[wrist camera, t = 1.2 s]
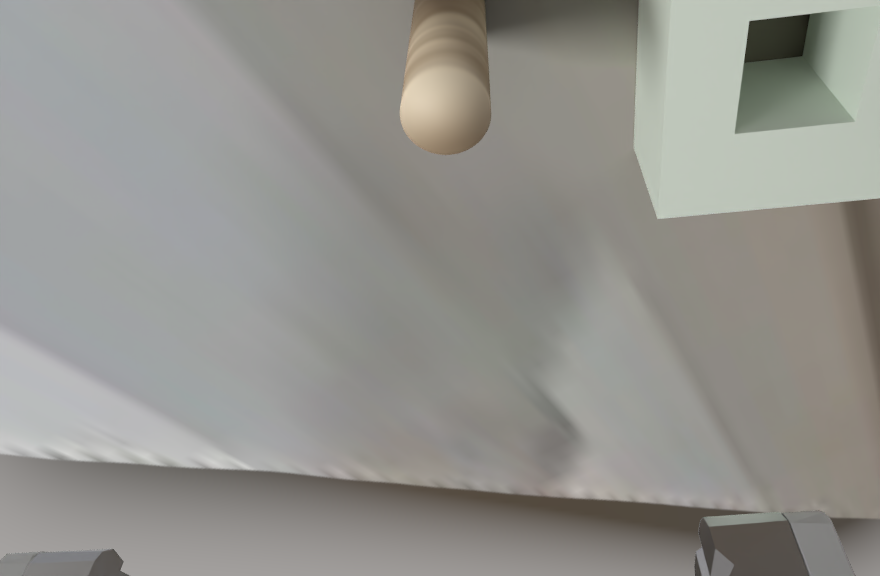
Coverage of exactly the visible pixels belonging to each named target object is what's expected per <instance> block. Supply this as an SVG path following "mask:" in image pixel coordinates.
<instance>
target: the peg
mask: <svg viewBox="0 0 880 576" xmlns="http://www.w3.org/2000/svg"><path fill="white" fill-rule="evenodd" d="M400 119H401V123H402V126H403V129H404V131H405V133H406V134H407V136H408V137H409V138H410V139H411V140H412V141H413V142H414V143H415V144H416V145H417V146H419V147H420V148H422V149H424V150H426V151H428V152H431V153H435V154H442V155H451V154H457V153H461V152H463V151H466V150H468V149H470V148H472V147H473V146H474V145H476V144H477V143H478V142H479V141H480V140H481V139H482V138H483V136H484V135H485V133H486V132H487V130H488V127H489V124H490V121H491V102H490V84H489V67H488V49H487V32H486V14H485V0H415V4H414V11H413V18H412V26H411V33H410V40H409V48H408V55H407V63H406V70H405V77H404V85H403V92H402V100H401V107H400Z"/></svg>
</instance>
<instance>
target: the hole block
mask: <svg viewBox="0 0 880 576" xmlns="http://www.w3.org/2000/svg"><path fill="white" fill-rule="evenodd" d="M804 14H810V17H809V23H808V28H807V34H806V39H805V45H804V50H803V56H800V57H791V58H782V59H773V60H764V61H756V62H747V63H744V58H745V50H746V43H747V35H748V27H749V21H754V20H762V19H771V18H779V17H788V16H796V15H804ZM634 150H635V153H636V156H637V159H638V162H639V165H640V168H641V171H642V174H643V177H644V180H645V183H646V186H647V189H648V192H649V195H650V198H651V201H652V204H653V207H654V210H655V213H656V216H657V219H662V218H673V217H684V216H695V215H705V214H716V213H727V212H737V211H748V210H759V209H769V208H780V207H791V206H802V205H812V204H823V203H834V202H844V201H855V200H866V199H876V198H880V0H639V11H638V39H637V68H636V96H635V124H634Z"/></svg>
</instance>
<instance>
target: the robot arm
mask: <svg viewBox="0 0 880 576" xmlns="http://www.w3.org/2000/svg"><path fill="white" fill-rule="evenodd" d="M698 533H699V537H700V541H701V544H702V547H701V548H700V549H699V550H698V551H696V555H695V566H694V567H695V576H856V575H855V573H854V571H853V569H852V566H851V564H850V562H849V560H848V557H847V555H846V553H845V550H844V548H843V546H842V544H841V541H840V539H839V537H838V535H837V532H836V530H835V528H834V525H833V523H832V521H831V519H830V518H829V517H828V516H827V515H826V514H825V513H824V512H822V511H819V510H816V511H801V512H786V513H779V512H771V513H757V514H743V515H730V516H729V515H728V516H714V517H703V518H702V519H701V521H700V525H699V532H698ZM122 564H123V560H122V559H121V558H120V557H119V555H118V554H117V553H116V552H115V550H114V549H102V550H83V551H82V550H81V551H61V552H29V553H15V554H6V555H5V556H4V557H3V558H2V559H1V560H0V576H129V575H127V574H125V573H123V572H122V571H120V570H121V567H122Z"/></svg>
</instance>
